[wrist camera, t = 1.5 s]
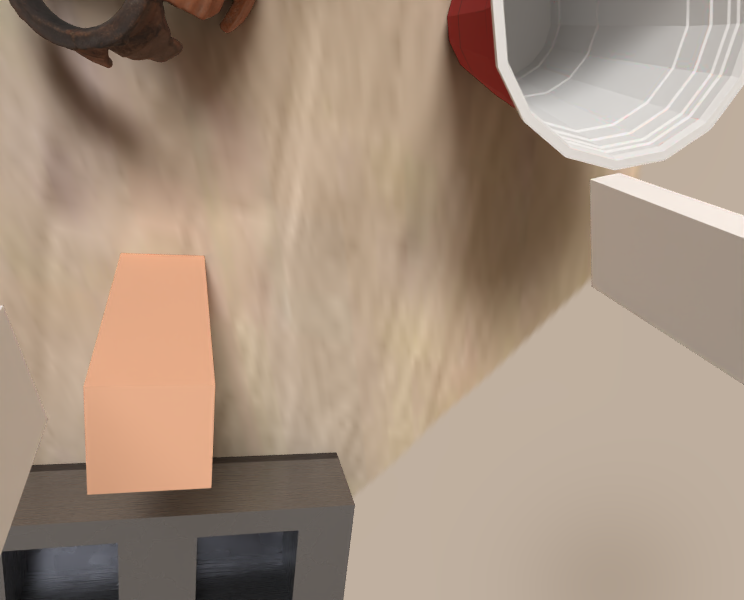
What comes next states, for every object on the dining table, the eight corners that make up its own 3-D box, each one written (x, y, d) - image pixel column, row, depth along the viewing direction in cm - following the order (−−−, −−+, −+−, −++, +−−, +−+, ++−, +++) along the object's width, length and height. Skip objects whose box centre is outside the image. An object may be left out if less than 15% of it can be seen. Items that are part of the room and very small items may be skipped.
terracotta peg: (121, 327, 36) (87, 494, 23) (120, 253, 34) (83, 386, 22) (202, 328, 37) (211, 488, 24) (204, 255, 35) (215, 384, 23)
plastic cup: (617, -95, 34) (818, -151, 23) (580, 130, 38) (737, 172, 27) (405, -123, 31) (520, -200, 20) (388, 123, 35) (477, 167, 24)
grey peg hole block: (-27, 589, 39) (-55, 664, 34) (-40, 468, 36) (-72, 531, 32) (324, 560, 44) (340, 621, 40) (336, 452, 41) (354, 505, 37)
